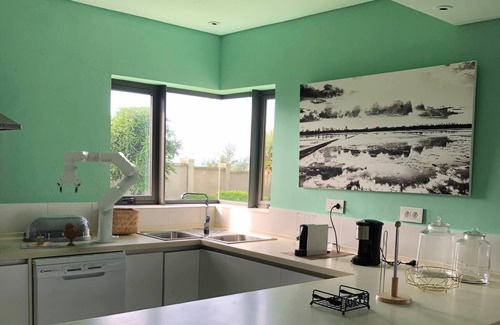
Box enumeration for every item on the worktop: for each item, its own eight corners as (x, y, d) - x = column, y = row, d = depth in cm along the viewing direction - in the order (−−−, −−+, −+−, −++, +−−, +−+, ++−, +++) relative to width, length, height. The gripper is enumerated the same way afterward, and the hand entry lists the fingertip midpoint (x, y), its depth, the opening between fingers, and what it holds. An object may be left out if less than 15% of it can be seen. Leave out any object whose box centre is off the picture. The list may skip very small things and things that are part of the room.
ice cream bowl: (76, 247, 324) (77, 224, 324) (59, 246, 324) (60, 223, 324) (82, 244, 334) (83, 222, 334) (65, 243, 334) (66, 221, 334)
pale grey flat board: (57, 243, 334) (57, 242, 334) (58, 247, 318) (58, 247, 318) (21, 244, 326) (21, 243, 326) (20, 248, 309) (20, 247, 309)
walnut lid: (51, 243, 331) (51, 235, 331) (51, 246, 318) (52, 238, 318) (28, 243, 325) (28, 235, 325) (27, 247, 312) (28, 238, 312)
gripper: (82, 168, 356) (81, 192, 356) (56, 167, 349) (55, 192, 349) (83, 168, 349) (81, 193, 349) (56, 167, 342) (55, 192, 342)
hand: (68, 192), depth 349 cm, fingers open, 9 cm apart
